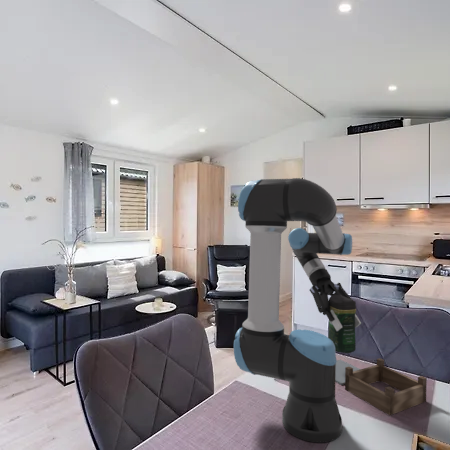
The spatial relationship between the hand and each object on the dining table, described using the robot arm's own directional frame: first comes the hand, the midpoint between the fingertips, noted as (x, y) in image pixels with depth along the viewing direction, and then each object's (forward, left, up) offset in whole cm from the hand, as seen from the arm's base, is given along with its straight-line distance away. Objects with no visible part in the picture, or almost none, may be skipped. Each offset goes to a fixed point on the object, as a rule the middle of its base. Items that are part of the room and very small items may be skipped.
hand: (349, 327), depth 118 cm
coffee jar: (0, +3, -9) cm, 9 cm away
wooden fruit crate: (-1, -15, -17) cm, 22 cm away
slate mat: (-1, +3, -17) cm, 17 cm away
